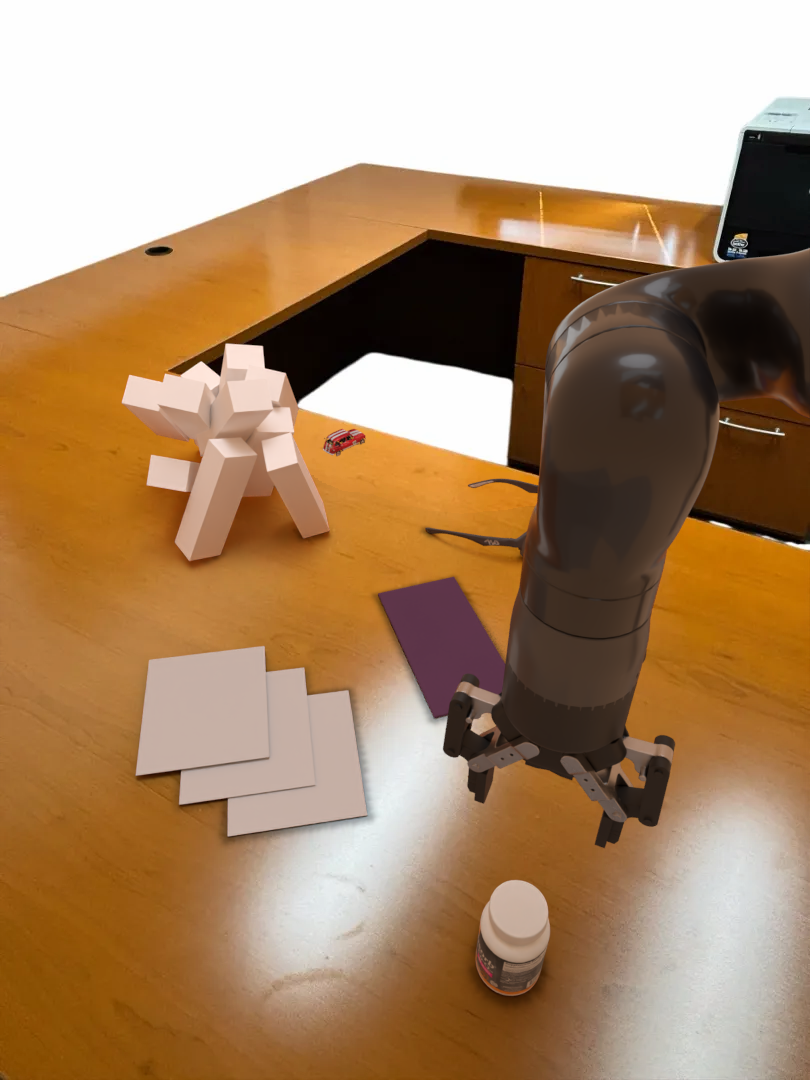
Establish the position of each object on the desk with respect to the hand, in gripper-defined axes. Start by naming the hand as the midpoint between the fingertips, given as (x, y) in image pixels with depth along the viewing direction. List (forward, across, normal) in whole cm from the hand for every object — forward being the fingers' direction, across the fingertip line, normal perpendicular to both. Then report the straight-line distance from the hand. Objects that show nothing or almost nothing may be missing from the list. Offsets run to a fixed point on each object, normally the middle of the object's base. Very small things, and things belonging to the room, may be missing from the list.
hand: (541, 813), depth 54 cm
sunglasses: (+22, -21, +59) cm, 67 cm away
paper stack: (+22, -34, +12) cm, 42 cm away
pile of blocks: (+22, -59, +48) cm, 79 cm away
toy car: (+22, -52, +70) cm, 90 cm away
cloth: (+22, -19, +33) cm, 44 cm away
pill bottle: (+22, 0, -1) cm, 22 cm away
